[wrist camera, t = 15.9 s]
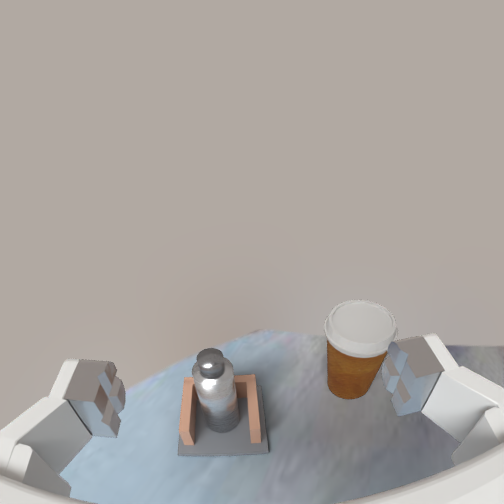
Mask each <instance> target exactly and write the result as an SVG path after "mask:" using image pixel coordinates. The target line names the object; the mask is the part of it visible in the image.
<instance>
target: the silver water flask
mask: <svg viewBox="0 0 504 504" xmlns="http://www.w3.org/2000/svg"><path fill="white" fill-rule="evenodd" d="M192 375H193V379H194V383H195V387H196V390H197V394H198V398H199V401H200V405H201V408H202V412H203V415H204V419H205V422H206V425H207V426H208V428H209V429H211V430H212V431H214V432H218V433H226V432H229V431H232V430H233V429H235V428H236V427H237V426H238V424H239V421H240V416H239V409H238V402H237V395H236V387H235V380H234V372H233V366H232V364H231V362H230V361H229V360H228V359H226V358H224V357H223V354H222V352H221V351H220V350H218V349H214V348H208V349H204V350H202V351H201V352H200V353H199V354H198V355H197V362H196V363H195V364H194V366H193V368H192Z"/></svg>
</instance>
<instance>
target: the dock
mask: <svg viewBox="0 0 504 504" xmlns="http://www.w3.org/2000/svg"><path fill="white" fill-rule="evenodd" d="M234 380H235V387H236V395H237V402H238V409H239V416H240V421H239V424H238V426H237V427H236V428H235V429H233V430H232V431H229V432H226V433H218V432H214V431H212V430H211V429H209V428H208V426H207V425H206V422H205V419H204V415H203V412H202V408H201V405H200V401H199V398H198V394H197V390H196V387H195V383H194V379H193V377H184V386H183V395H182V405H181V414H180V425H179V444H178V456H234V455H252V454H265V453H269V451H268V442H267V434H266V425H265V416H264V407H263V398H262V389H261V386H256V380H255V374H252V375H237V376H234Z"/></svg>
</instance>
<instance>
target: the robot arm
mask: <svg viewBox="0 0 504 504" xmlns="http://www.w3.org/2000/svg"><path fill="white" fill-rule="evenodd" d="M387 352H388V354H389V357H388V358H387V359H386V360H385V361H384V363H383V366H382V380H383V384H384V386H385V388H386V390H387V391H389V392H390V393H392V394H393V395H392V398H391V402H392V404H393V407H394V409H395V411H396V413H397V416H403V415H407V414H411V413H415V412H419V411H422V413H423V414H424V415H426V416H427V417H428V418H429V419H431V420H432V421H433V422H434V423H436V424H437V425H438V426H440V427H441V428H442V429H443V430H445V431H446V432H447V433H448V434H450V435H451V436H452V437H453V438H455V439H456V440H457V441H459V442H460V443H461V444H460V445H459V446H458V447H457V449H456V450H455V451H454V452H453V454H452V456H451V458H452V461H453V463H454V465H455V466H454V467H452V468H449V469H447V470H445V471H442V472H440V473H437V474H435V475H432V476H429V477H427V478H424V479H421V480H418V481H416V482H413V483H410V484H407V485H404V486H401V487H397V488H394V489H391V490H387V491H384V492H380V493H377V494H373V495H369V496H366V497H362V498H357V499H353V500H349V501H344V502H339V503H334V504H504V388H503V387H501V386H499V385H497V384H495V383H493V382H492V381H490V380H488V379H486V378H484V377H482V376H480V375H478V374H477V373H475V372H473V371H471V370H469V369H467V368H465V367H464V366H461V367H459V366H458V365H457V363H456V362H455V360H454V359H453V357H452V356H451V354H450V353H449V351H448V350H447V349H446V347H445V346H444V344H443V343H442V341H441V340H440V338H439V337H438V336H437V335H436V334H435V333H431V334H426V335H421V336H416V337H411V338H406V339H402V340H397V341H392V342H391V343H390V344H389V346H388V350H387ZM116 372H117V369H116V367H115V365H114V363H113V362H109V361H95V360H83V359H82V360H80V359H67V360H66V361H65V362H64V364H63V366H62V368H61V370H60V372H59V374H58V376H57V379H56V381H55V383H54V385H53V388H52V390H51V392H50V394H49V397H43V398H42V399H41V400H40V401H38V402H37V403H36V404H34V405H33V406H32V407H30V408H29V409H28V410H27V411H25V412H24V413H23V414H21V415H20V416H19V417H17V418H16V419H15V420H14V421H12V422H11V423H10V424H8V425H7V426H6V427H4V428H3V429H2V430H1V431H0V504H96V503H92V502H87V501H83V500H78V499H74V498H70V497H69V496H70V491H71V486H70V485H69V483H68V482H67V481H65V480H64V479H63V478H62V477H61V476H60V475H59V474H60V473H61V472H62V471H63V469H64V468H65V467H66V466H67V465H68V464H69V463H70V462H71V461H72V459H73V458H74V457H75V456H76V455H77V454H78V453H79V452H80V451H81V449H82V448H83V447H84V446H85V445H86V444H87V443H88V442H89V441H90V439H91V438H92V436H100V437H110V438H117V436H118V431H119V427H120V423H121V420H120V418H119V416H118V414H119V413H120V412H121V411H122V410H123V409H124V405H125V388H124V385H123V382H122V381H121V379H119V378H118V377H116V376H115V375H116Z"/></svg>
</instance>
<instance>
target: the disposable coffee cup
mask: <svg viewBox="0 0 504 504" xmlns="http://www.w3.org/2000/svg"><path fill="white" fill-rule="evenodd" d="M324 331H325V335H326V337H327V353H328V354H327V356H328V357H327V359H328V360H327V362H328V364H327V365H328V381H327V382H328V387H329V389H330V390H331V392H332V393H333V394H335V395H336V396H338V397H340V398H344V399H355V398H359V397H361V396H363V395H364V394H365V393H366V392H367V391H368V389H369V387H370V385H371V383H372V381H373V380H374V378H375V376H376V374H377V372H378V370H379V368H380V366H381V364H382V362H383V360H384V358H385V356H386V354H387V350H388V346H389V344H390V343H391V342H392V341H396V339H397V335H398V331H397V327H396V320H395V318H394V316H393V314H392V313H391V312H390V311H389V310H388V309H386V308H385V307H383V306H382V305H380V304H377V303H374V302H371V301H366V300H352V301H346V302H343V303H340V304H338V305H337V306H336V307H334V308H333V309H332V311H331V312H330V314H329V315H328V316H327V318H326V320H325V323H324Z"/></svg>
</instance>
